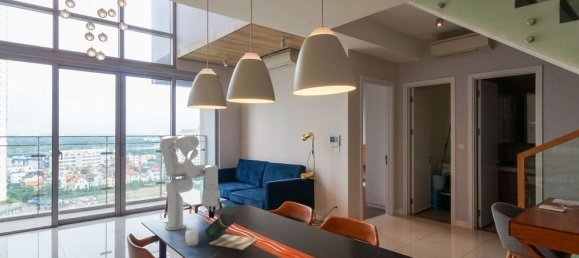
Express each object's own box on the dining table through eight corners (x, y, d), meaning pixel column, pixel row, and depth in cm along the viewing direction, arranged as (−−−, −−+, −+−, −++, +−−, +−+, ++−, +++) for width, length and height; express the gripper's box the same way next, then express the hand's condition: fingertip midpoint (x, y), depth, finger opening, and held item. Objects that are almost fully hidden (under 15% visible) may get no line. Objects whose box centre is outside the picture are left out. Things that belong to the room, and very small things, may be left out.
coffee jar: (209, 242, 176) (228, 224, 169) (202, 230, 178) (221, 212, 172) (220, 237, 184) (239, 220, 177) (214, 225, 187) (232, 208, 180)
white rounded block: (182, 244, 171) (182, 232, 172) (191, 240, 178) (191, 228, 178) (192, 246, 169) (192, 233, 169) (201, 242, 175) (201, 230, 175)
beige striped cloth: (209, 244, 172) (209, 243, 172) (225, 235, 187) (225, 234, 187) (242, 249, 164) (242, 248, 164) (257, 240, 178) (257, 239, 178)
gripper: (197, 186, 181) (197, 218, 181) (218, 188, 175) (218, 220, 175) (205, 184, 188) (205, 214, 188) (225, 186, 182) (225, 217, 182)
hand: (211, 217), depth 181 cm, fingers closed
